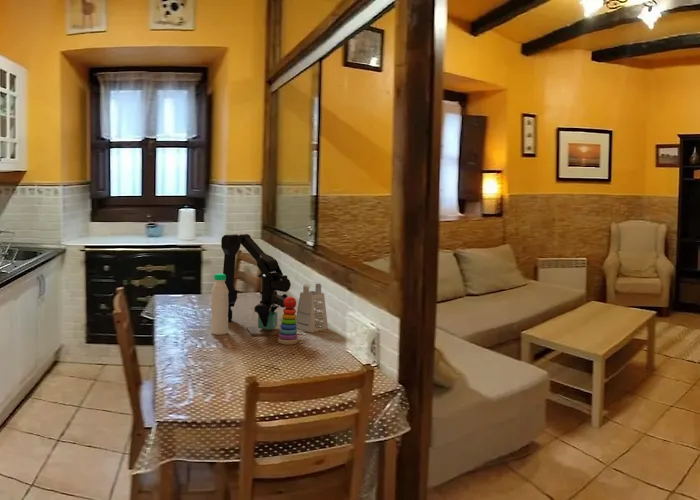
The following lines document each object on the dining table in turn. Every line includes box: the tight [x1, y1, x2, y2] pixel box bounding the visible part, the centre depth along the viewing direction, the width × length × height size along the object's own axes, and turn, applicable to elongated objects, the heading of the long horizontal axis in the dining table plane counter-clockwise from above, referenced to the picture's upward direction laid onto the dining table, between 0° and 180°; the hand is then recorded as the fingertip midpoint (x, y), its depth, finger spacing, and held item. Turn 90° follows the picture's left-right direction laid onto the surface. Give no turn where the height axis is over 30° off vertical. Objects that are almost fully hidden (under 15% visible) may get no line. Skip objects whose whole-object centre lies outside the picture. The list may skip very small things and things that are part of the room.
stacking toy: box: [277, 296, 299, 346], centre depth 248 cm, size 8×8×19 cm
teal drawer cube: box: [257, 311, 278, 329], centre depth 265 cm, size 6×6×6 cm
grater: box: [295, 282, 329, 333], centre depth 273 cm, size 10×10×20 cm
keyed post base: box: [245, 324, 281, 337], centre depth 265 cm, size 16×12×5 cm
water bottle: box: [210, 273, 229, 336], centre depth 259 cm, size 7×7×25 cm
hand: (267, 324), depth 265 cm, fingers closed on teal drawer cube, 6 cm apart
